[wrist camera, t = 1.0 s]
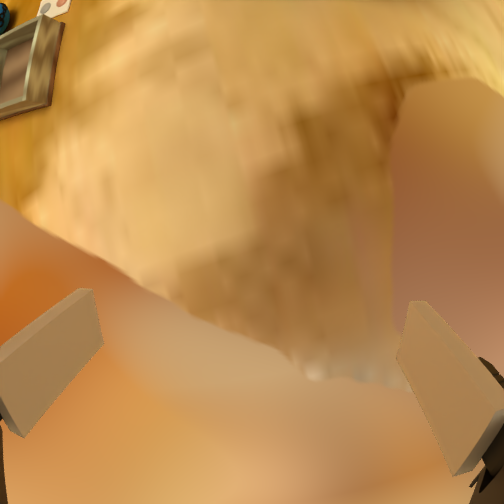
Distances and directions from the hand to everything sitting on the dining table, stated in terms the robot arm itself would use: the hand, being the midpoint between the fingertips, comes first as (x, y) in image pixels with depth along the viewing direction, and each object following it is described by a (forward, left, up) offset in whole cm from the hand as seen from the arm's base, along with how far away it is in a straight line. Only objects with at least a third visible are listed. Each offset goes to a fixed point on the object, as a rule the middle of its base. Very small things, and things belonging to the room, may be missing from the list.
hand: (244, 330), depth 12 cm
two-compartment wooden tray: (-25, -49, -28) cm, 61 cm away
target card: (-38, -38, -28) cm, 60 cm away
